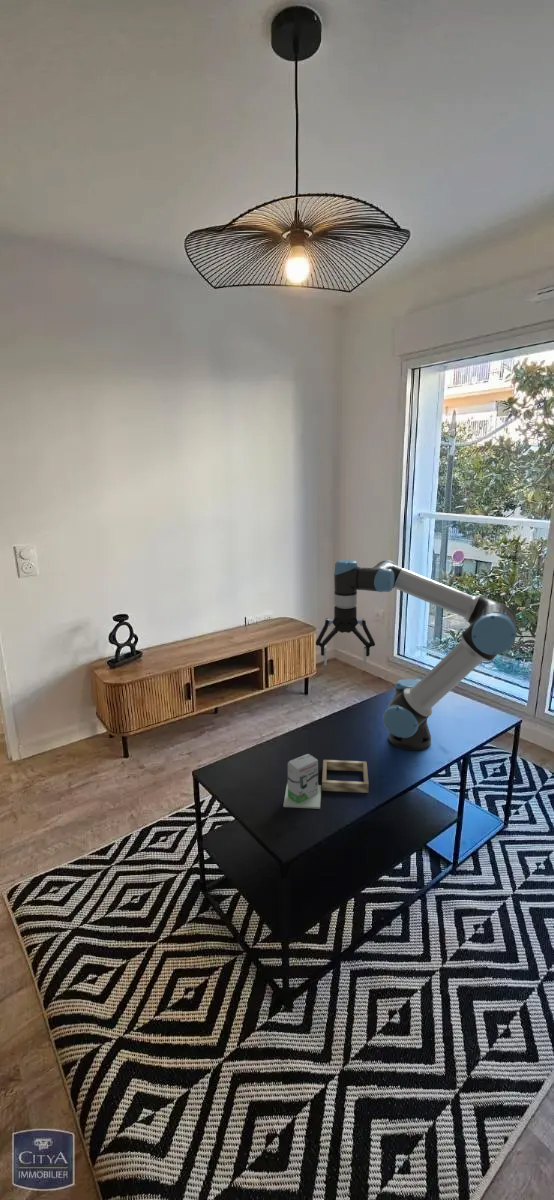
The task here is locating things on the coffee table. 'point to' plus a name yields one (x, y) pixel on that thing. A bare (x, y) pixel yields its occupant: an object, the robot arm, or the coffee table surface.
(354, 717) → the coffee table surface
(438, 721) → the coffee table surface
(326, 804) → the coffee table surface
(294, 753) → the coffee table surface
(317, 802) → the tile
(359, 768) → the pocket
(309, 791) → the ink box
